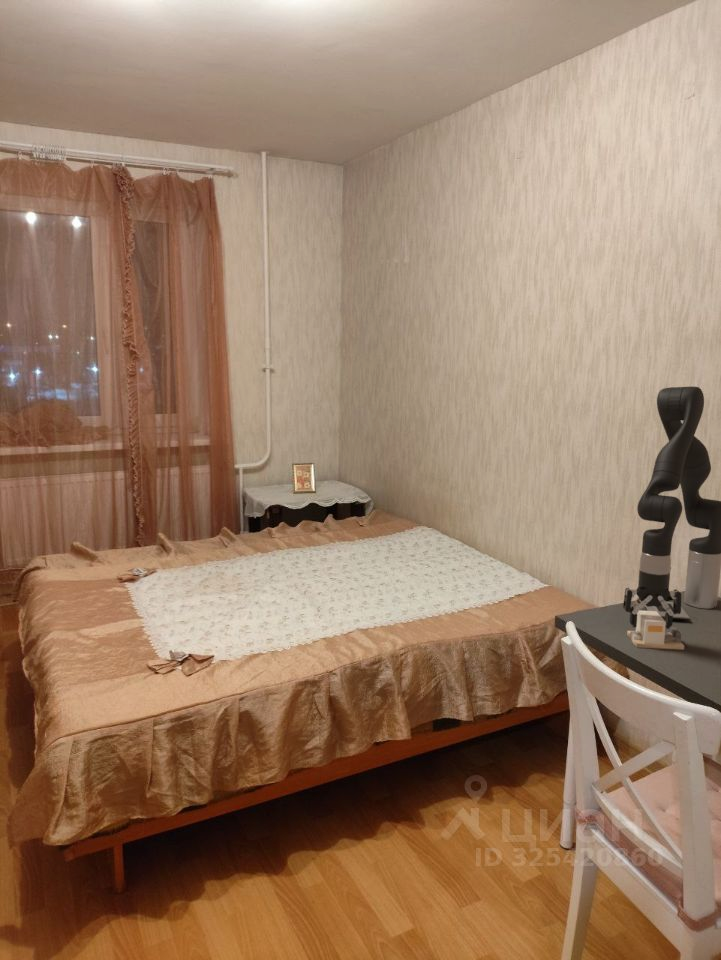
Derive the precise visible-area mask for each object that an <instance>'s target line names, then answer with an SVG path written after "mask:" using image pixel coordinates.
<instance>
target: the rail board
mask: <svg viewBox="0 0 721 960" xmlns="http://www.w3.org/2000/svg"><path fill="white" fill-rule="evenodd" d="M626 634H627V636H628V637H629V639H630V640H631V642H632V644H633V645H634V646H635V647H636V648H640V649H641V648H643V649H661V650H664V649H665V650H683V651H684V650H685V645H684V644H683V642H682V638H681V637H682V633H681V632H680V631H679V630H678V628H677V627H673V626H671V627H670V631H669V632H668V631H667V632H666V631H665V638H664V644H646V643H644V642H643V636H642V635H641V634H640V632H639V631H636V630H627V633H626Z"/></svg>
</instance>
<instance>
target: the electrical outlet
mask: <svg viewBox="0 0 721 960" xmlns="http://www.w3.org/2000/svg"><path fill="white" fill-rule="evenodd" d="M666 603H667V604H668V606H669V607H670V609H671V608H673V601H666ZM644 608H646V611H657V613H658V614H659V615H660V616H661V617H662V618H663V619H665V613H667V612H666V611H665V609H664V608H663V606H662V605H661V606H659V607H655V606H651V607H647V606H646V605H645V606H644ZM689 619H690V616H689V615H688V614H687V612H686V611H685V610H684V609H683V607H682V606H681V613H680V614H674V615H673V620H680V621H681V620H684V621H687V620H689Z"/></svg>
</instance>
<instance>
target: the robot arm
mask: <svg viewBox="0 0 721 960" xmlns="http://www.w3.org/2000/svg"><path fill="white" fill-rule="evenodd" d="M703 392H704V391H702V389H701V388H700V387H698V386H677V387H676V386H675V387H674V386H673V387H666V388H665V387H664V388H662V389H661V390H659V392H658V394H657V397H656V405H657V406H656V407H657V412H658V417H659V418H660V421H661V424H662V427H663V429H664V431H665V434H666V436H667V438H668V439H667V440H668V442H667V443H666V444H664V446H663V447H662V448H661V449H660V451H659V452H658V454H657V456H656V458H655V462H654V465H653V466H654V467H653V470H652V474H651V479H650V481H649V483H648V485H647V486H646V489H645V490H644V492H643V494H642V495H641V497H640V499H639V500H638V503H637V506H636V507H637V509H636V511H637V514H638V516H639V518H640V519H642V520H644V521H649V522H656V523H657V522H658V523H663V524H664V526H663V527H661V528H653V529H647V530H645V531H644V532H643V535H642V544H641V546H642V547H641V554H640V560H639V569H638V586H637V588H636V589H632V588H630V587H626V588H625V590H624V595H623V603H622V608H623V609H624V610H625V612H626V613H629V624H630V625H631V626H632V628H636V627H637V612H638V611H639V610H643V608H645V605H646V606H647V607H651V606H655V607H659V606H661V605H662V606H663V608H664V609H665V611H666V612H667V613H665V618H664V621H665V622H666V626H665V630H666V629H671V627H673V620H674V619H673V615H674V614H680V613H681V607H682V593H681V592H680V591H679V590H678V589H674V590H670V588H669V587H670V579H671V578H670V577H671V570H672V566H671V565H672V556H671V553H672V543H673V537H674V532H675V530H676V526H677V525H678V522H679V521H680V517H681V515H682V512H683V509H684V514H685V519H686V522H687V523H688V525H689V526H691V527H694V528H698V529H704V530H709V532H708V535H707V536H702V537H695V538H692V539H690V541H689V542H688V554H687V555H688V556H687V566H686V567H687V568H686V575H685V577H686V579H685V580H686V581H685V588H684V600H683V602H684V603H685V604H686V605H688V606H690V607H694V608H698V609H715V608H717V607H718V599H719V589H720V579H721V500H716V499H709V498H703V497H702V496H701V495H700V489H701V487H702V485H703V484H704V483H705V482H706V481H707V479H708V478H709V476H710V474H711V471H712V466H711V460H710V455H709V451H708V449H707V447H706V446H705V445H704V443H702V441H701V440H700V439H698V437H696V436H695V434H696V431H697V428H698V425H699V424H700V421H701V418H702V415H703V411H704V408H705V396H704V393H703ZM679 488H680V489H681V492H682V493H681V494H682V501H683V503H682V501H681V500H680V499H679V498H678V497H677V496H672V495H661V494H662V493H665V492H673V491H677V490H678V489H679ZM682 504H683V505H682ZM683 507H684V508H683ZM636 595H637V597H638V598H637V599H636V600H634V603H633V604H632V599H633V598H634V597H635V596H636ZM670 597H671V598H672V602H673V608H671V609H670V607H669V606H668V604H667V603H666V602H667V600H668V599H669V598H670ZM716 606H717V607H716ZM714 607H715V608H714Z"/></svg>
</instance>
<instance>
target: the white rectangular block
mask: <svg viewBox="0 0 721 960" xmlns="http://www.w3.org/2000/svg"><path fill="white" fill-rule="evenodd" d="M636 614H637V627H635V631H639V632H640V634H641V635H642V636H643V642H644V643H646V644H664V638H665V632H666V628H665V626H666V622H665V618H662V617H661V616H660V615H659V614H658V613H657V611H647V610H642V609H640V610H639V611H638V612H637V613H636Z"/></svg>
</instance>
